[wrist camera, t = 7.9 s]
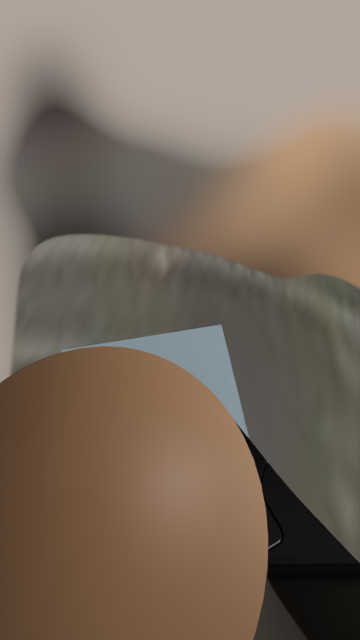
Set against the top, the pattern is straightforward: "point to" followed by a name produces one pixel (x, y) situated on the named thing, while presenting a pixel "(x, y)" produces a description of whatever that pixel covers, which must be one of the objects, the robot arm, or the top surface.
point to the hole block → (195, 361)
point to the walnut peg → (125, 504)
